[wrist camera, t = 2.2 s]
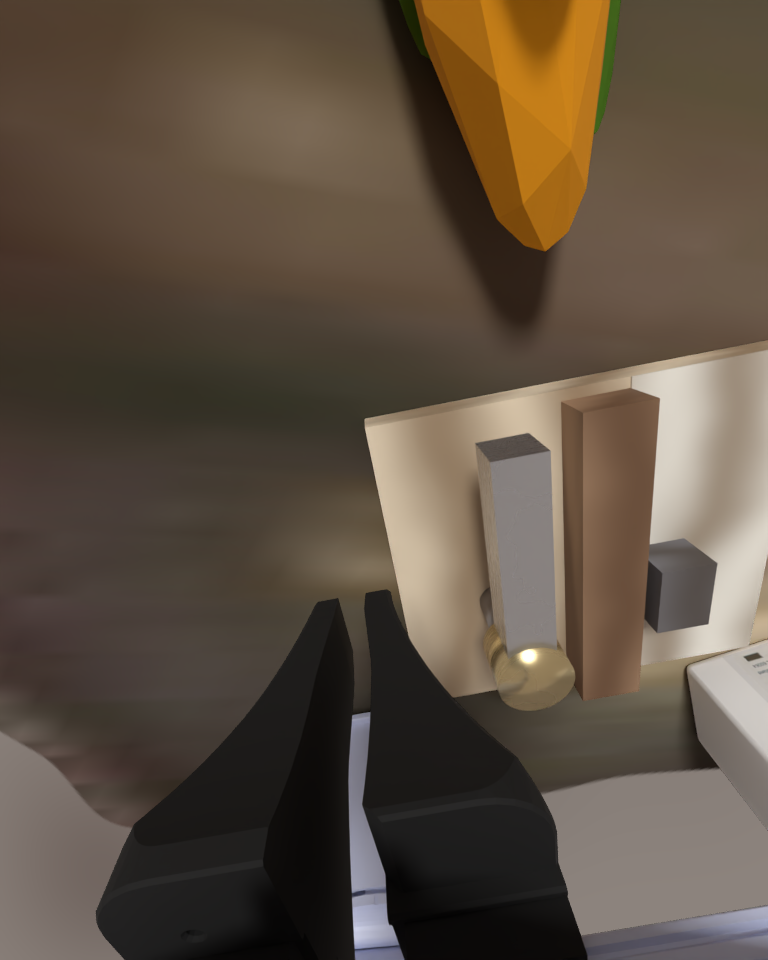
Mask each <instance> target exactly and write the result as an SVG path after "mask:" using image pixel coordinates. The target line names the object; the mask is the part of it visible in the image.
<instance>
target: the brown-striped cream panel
mask: <svg viewBox="0 0 768 960" xmlns="http://www.w3.org/2000/svg"><path fill="white" fill-rule="evenodd" d="M365 430H366V435H367V440H368V445H369V449H370V454H371V459H372V464H373V468H374V473H375V478H376V483H377V487H378V492H379V497H380V502H381V506H382V511H383V516H384V521H385V525H386V530H387V535H388V540H389V545H390V549H391V554H392V559H393V564H394V568H395V573H396V578H397V583H398V587H399V592H400V597H401V602H402V606H403V611H404V616H405V621H406V625H407V630H408V635H409V639H410V640H411V642H412V644H413V645H414V647H415V648H416V650H417V651H418V653H419V655H420V656H421V658H422V659H423V660H424V662H425V663H426V665H427V666H428V668H429V669H430V670H431V672H432V673H433V674H434V675H435V677H436V678H437V679H438V681H439V682H440V683H441V684H442V685H443V687H444V688H445V689H446V690H447V691H448V693H449V694H450V695H451V696H452V697H453V698H454V697H460V696H465V695H471V694H476V693H482V692H487V691H493V690H498V689H497V686H496V683H495V681H494V678H493V675H492V672H491V669H490V666H489V664H488V661H487V658H486V655H485V652H484V649H483V639H484V636H485V634H486V632H487V630H488V629H489V628H490V627H491V625H493V624H494V618H493V609H492V599H491V590H490V580H489V571H488V561H487V552H486V542H485V533H484V523H483V514H482V504H481V495H480V485H479V476H478V466H477V457H476V447H475V443H478V442H484V441H489V440H494V439H499V438H504V437H509V436H515V435H520V434H525V433H529V434H531V435H532V436H533V437H534V438H536V439H537V440H538V441H539V442H541V443H542V444H543V445H544V446H545V447H547V448H548V449H549V450H550V451H551V475H552V507H553V538H554V570H555V601H556V633H557V640H558V642H559V644H560V645H561V647H562V649H563V651H564V652H565V654H566V656H567V658H568V659H569V661H570V663H571V665H572V666H573V668H574V671H575V682H574V685H575V687H576V689H577V691H578V693H579V694H580V696H581V698H582V700H583V701H586V700H591V699H597V698H602V697H608V696H614V695H619V694H625V693H631V692H636V691H639V684H640V670H641V665H647V664H653V663H658V662H664V661H669V660H675V659H681V658H686V657H692V656H697V655H703V654H709V653H714V652H720V651H725V650H731V649H736V648H742V647H748V646H749V644H750V639H751V634H752V629H753V624H754V619H755V614H756V610H757V605H758V600H759V595H760V590H761V585H762V580H763V575H764V570H765V565H766V560H767V555H768V340H766V341H761V342H756V343H751V344H746V345H741V346H736V347H730V348H725V349H720V350H715V351H710V352H705V353H700V354H695V355H689V356H684V357H679V358H674V359H669V360H664V361H659V362H654V363H648V364H643V365H638V366H633V367H628V368H623V369H618V370H613V371H607V372H602V373H597V374H592V375H587V376H582V377H577V378H571V379H566V380H561V381H556V382H551V383H546V384H541V385H536V386H530V387H525V388H520V389H515V390H510V391H505V392H500V393H495V394H489V395H484V396H479V397H474V398H469V399H464V400H459V401H454V402H448V403H443V404H438V405H433V406H428V407H423V408H418V409H412V410H407V411H402V412H397V413H392V414H387V415H382V416H377V417H371V418H366V419H365Z"/></svg>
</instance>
